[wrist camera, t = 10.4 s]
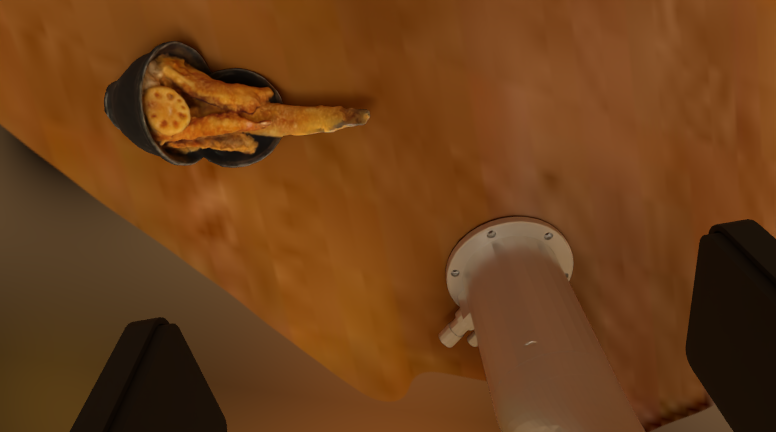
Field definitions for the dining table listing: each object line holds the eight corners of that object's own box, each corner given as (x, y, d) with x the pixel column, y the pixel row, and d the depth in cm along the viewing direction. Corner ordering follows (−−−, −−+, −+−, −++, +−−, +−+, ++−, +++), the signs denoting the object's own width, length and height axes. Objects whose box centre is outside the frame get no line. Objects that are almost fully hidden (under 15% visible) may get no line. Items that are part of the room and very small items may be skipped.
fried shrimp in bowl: (63, 39, 37) (308, 22, 32) (172, 52, 48) (371, 41, 42) (80, 175, 39) (315, 181, 34) (182, 159, 49) (374, 162, 44)
